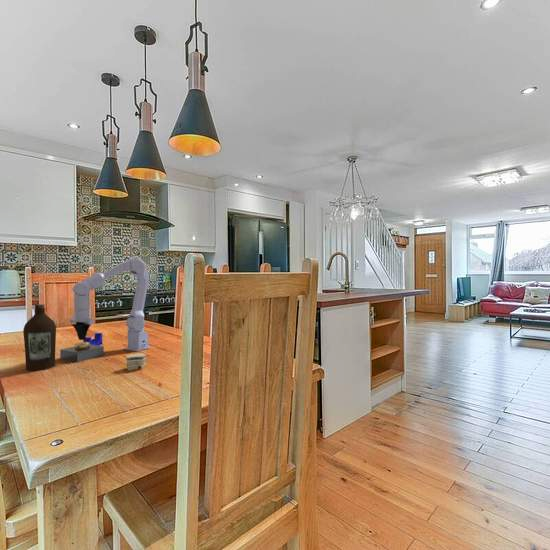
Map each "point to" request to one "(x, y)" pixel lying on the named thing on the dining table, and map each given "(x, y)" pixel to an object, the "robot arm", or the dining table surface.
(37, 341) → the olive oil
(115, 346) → the dining table surface
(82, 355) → the block
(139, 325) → the robot arm
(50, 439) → the dining table surface
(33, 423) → the dining table surface
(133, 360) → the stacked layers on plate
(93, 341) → the blue angular block
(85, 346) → the brass pin
